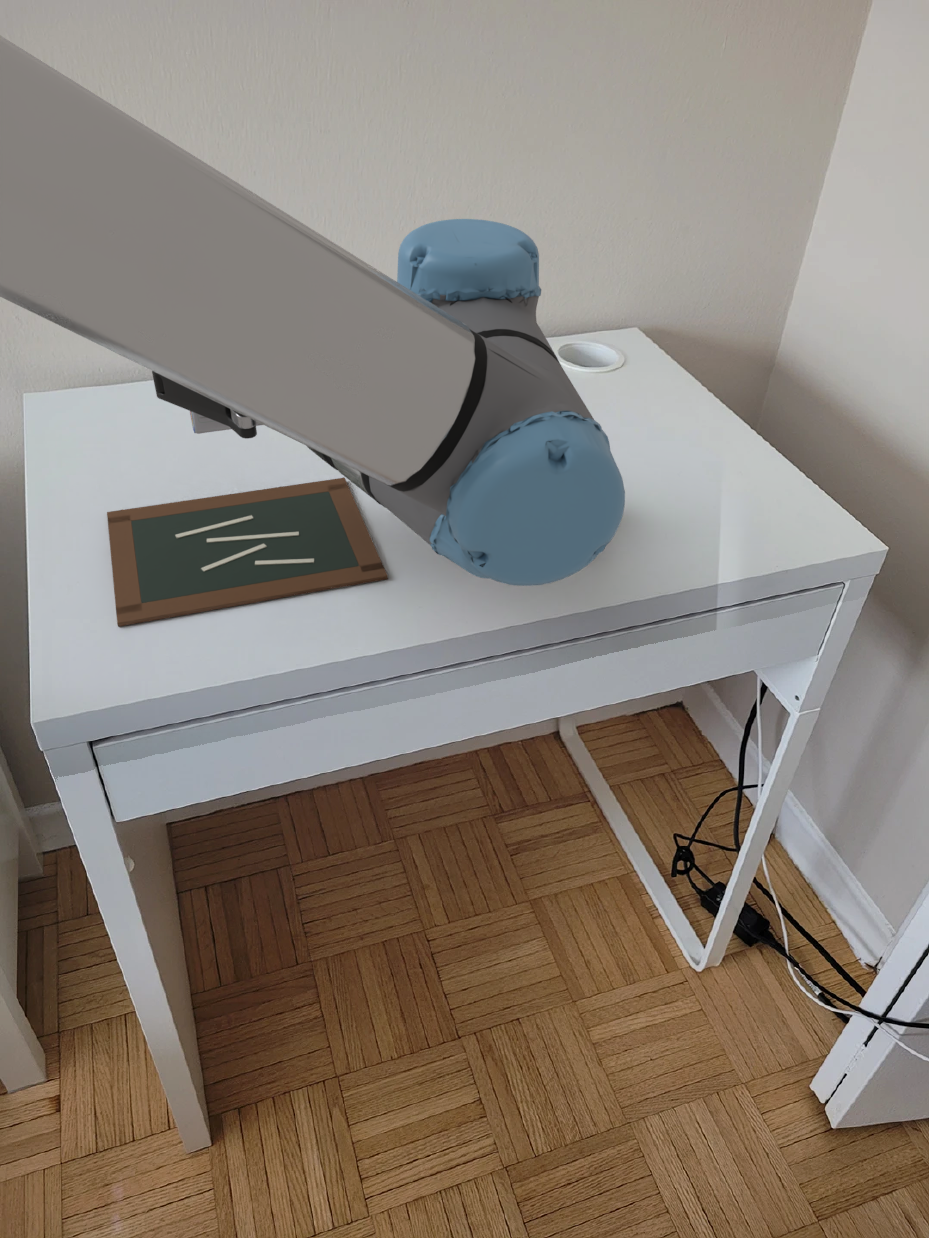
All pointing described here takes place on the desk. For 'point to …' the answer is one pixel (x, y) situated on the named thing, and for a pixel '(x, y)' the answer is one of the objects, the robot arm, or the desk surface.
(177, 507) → the chalkboard
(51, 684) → the desk surface
